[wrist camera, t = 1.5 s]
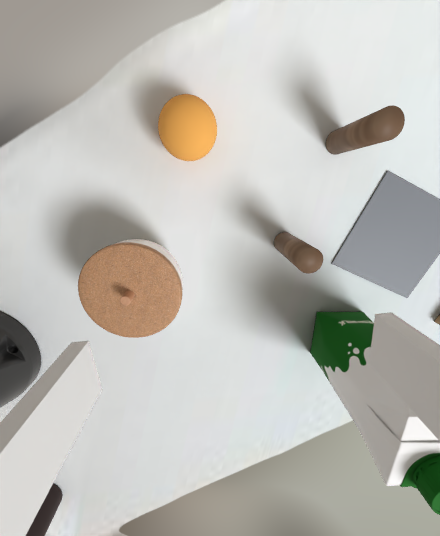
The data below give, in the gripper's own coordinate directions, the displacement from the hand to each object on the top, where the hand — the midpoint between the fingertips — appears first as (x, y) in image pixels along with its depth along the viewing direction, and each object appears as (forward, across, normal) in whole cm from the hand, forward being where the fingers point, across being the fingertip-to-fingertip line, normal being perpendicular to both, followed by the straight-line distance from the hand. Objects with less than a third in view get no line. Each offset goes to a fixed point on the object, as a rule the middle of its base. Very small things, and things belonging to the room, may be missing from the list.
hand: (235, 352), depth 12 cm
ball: (+19, -2, +13) cm, 23 cm away
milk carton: (+22, +17, -15) cm, 32 cm away
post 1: (+22, +9, 0) cm, 24 cm away
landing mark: (+22, +24, -1) cm, 33 cm away
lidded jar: (+22, -10, -2) cm, 25 cm away
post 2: (+22, +15, +11) cm, 29 cm away
